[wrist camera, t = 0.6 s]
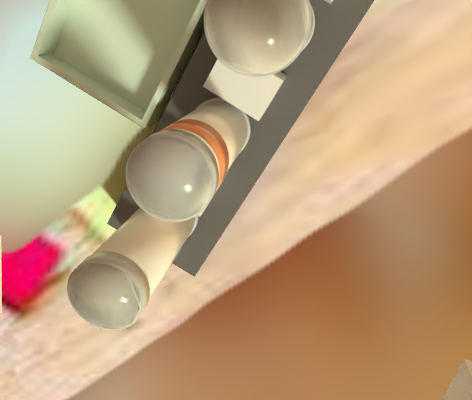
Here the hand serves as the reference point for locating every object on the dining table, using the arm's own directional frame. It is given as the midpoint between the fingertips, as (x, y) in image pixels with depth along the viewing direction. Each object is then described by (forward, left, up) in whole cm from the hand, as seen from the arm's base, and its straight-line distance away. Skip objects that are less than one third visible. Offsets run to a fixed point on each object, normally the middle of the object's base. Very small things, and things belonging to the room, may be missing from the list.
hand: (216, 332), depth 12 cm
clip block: (-4, -2, -26) cm, 27 cm away
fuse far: (-4, -10, -23) cm, 26 cm away
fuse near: (-4, +7, -23) cm, 25 cm away
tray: (-15, +1, -26) cm, 30 cm away
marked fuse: (-4, -2, -23) cm, 24 cm away
